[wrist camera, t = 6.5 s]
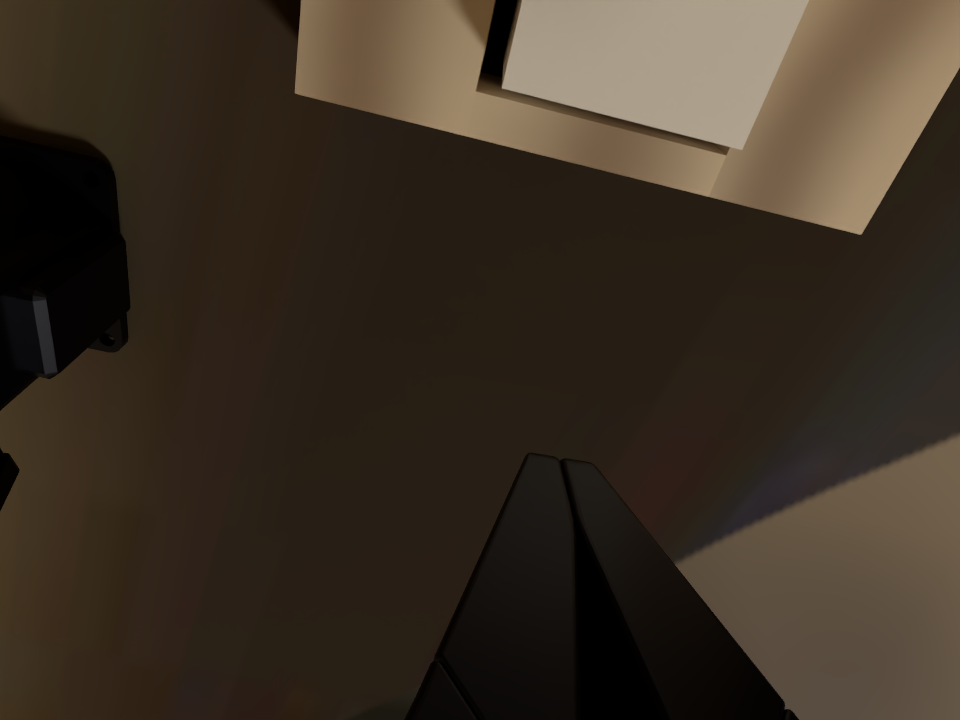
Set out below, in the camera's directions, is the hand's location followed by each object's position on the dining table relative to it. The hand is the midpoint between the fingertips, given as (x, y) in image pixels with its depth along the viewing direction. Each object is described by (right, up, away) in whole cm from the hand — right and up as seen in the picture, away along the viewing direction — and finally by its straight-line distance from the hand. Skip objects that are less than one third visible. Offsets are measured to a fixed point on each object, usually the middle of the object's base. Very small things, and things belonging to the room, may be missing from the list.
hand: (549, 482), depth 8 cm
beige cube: (+3, +12, +8) cm, 15 cm away
